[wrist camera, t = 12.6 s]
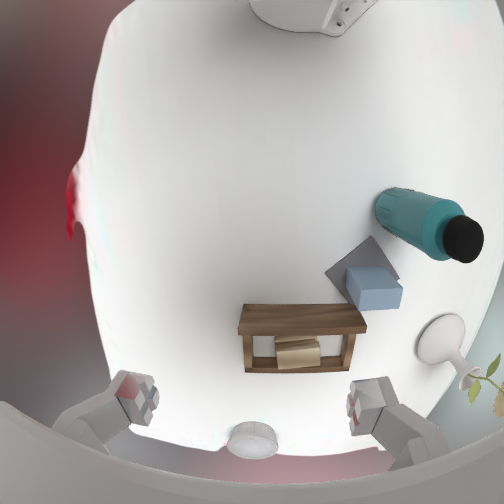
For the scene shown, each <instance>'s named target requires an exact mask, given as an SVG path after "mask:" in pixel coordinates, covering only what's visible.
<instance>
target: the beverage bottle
mask: <svg viewBox="0 0 504 504" xmlns="http://www.w3.org/2000/svg"><path fill="white" fill-rule="evenodd" d="M415 191H416V190H415ZM415 191H414V190H412V191H411V190H410V189H407V190H406V189H401V188H396V187H395V188H390V189H389V188H388V190H387V189H386V191H384V192H383V193H382V194H381V195H380V196H379V198H378V200H377V203H376V209H375V211H376V216H377V219H378V221H379V223H380V224H381V225H382V226H383V227H382V226H381V227H382V228H386V229H387V230H389V231H390V232H392V233H393V235H394V234H395V235H397V236H396V237H400V238H402V239H403V240H405V241H406V242H408V243H409V244H411V245H413V246H415V247H417V249H420V250H421V251H423V252H424V253H426V254H427V255H428V256H429V257H431V258H432V259H434V260H438V261H444V260H448V259H450V258H452V259H454V260H458V261H460V262H462V263H470V262H472V261H474V260H475V259H476V258H477V257H478V255H479V254H480V252H481V250H482V247H483V242H484V234H483V230H482V228H481V226H480V225H479V224H478V223H477V222H476V221H474V220H472V219H471V218H469V217H467V216H465V213H464V211H463V210H462V208H461V207H460V206H459V205H458V204H457V203H456V202H454V201H452V200H448V199H442V198H438V197H434V196H432V195H431V196H430V195H427V194H428V193H427V194H425V193H423V192H422V193H420V192H415ZM389 231H388V232H389ZM405 241H404V242H405Z"/></svg>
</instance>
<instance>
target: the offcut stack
mask: <svg viewBox="0 0 504 504" xmlns="http://www.w3.org/2000/svg"><path fill="white" fill-rule="evenodd" d="M275 349H276V357H277V364H278V369H291V368H301V367H310V366H318V365H320V345H319V342H317V336H275Z"/></svg>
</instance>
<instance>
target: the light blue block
mask: <svg viewBox="0 0 504 504" xmlns="http://www.w3.org/2000/svg"><path fill="white" fill-rule="evenodd" d="M345 286H346V288H347V290H348V292H349V294H350V296H351V298H352V299H353V301H354V303H355V305H356V307H357V309H358V311H366V310H384V309H398V308H399V306H400V301H401V296H402V291H403V287H402V286H401V285H400V284H399V283H398V282H397V281H396V280H395V279H394V278H393V277H392V275H391V274H390V273H389V272H388V271H387V270H386V269H385V268H384V267H347V273H346V283H345Z"/></svg>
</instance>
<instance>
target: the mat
mask: <svg viewBox="0 0 504 504" xmlns="http://www.w3.org/2000/svg"><path fill="white" fill-rule="evenodd" d="M347 267H384V268H385V269H386V270H387V271H388V272H389V273H390V274H391V275H392V277H393V278H394V279H395V280H396V281H397V280H398V279H400V278H399V276H398V275H397V273H396V271H395V270H394V268H393V267H392V265H391V264H390V262H389V260H388V259H387V257H386V256H385V254H384V253H383V251H382V250H381V248H380V247H379V245H378V244H377V242H376V241H375V239H374V238H373V237H372V235H371V236H370V237H369V238H367V239H366V240H365V241H364V242H362V243H361V244H360V245H359V246H358V247H356V248H355V249H354V250H353V251H351V252H350V253H349V254H348V255H346V256H345V257H344V258H343V259H341V260H340V261H339V262H338V263H336V264H335V265H334V266H333V267H331V268H330V269H329V270H327V271H326V272H325V273H326V275H327V276H328V277H329V278H330V280H331V281H332V282H333V283H334V285H335V286H336V287H337V288H338V290H339V291H340V292H341V293H342V295H343V296H344V297H345V298H346V300H347V301H348V302H349V303H350V304H355V303H354V301H353V299H352V298H351V296H350V294H349V292H348V290H347V288H346V286H345V283H346V273H347Z"/></svg>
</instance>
